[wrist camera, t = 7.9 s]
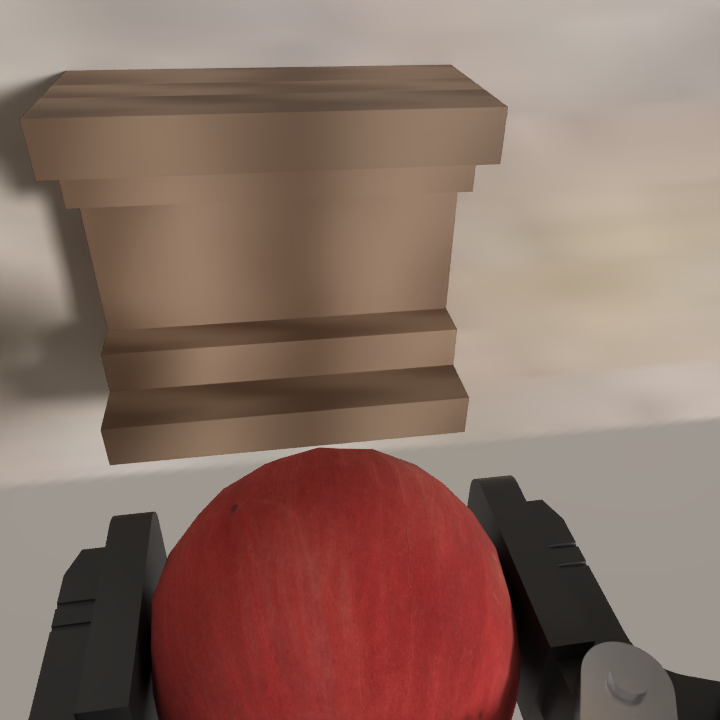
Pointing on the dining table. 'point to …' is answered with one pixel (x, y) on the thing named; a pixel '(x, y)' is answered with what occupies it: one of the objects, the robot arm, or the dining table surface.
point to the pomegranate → (334, 600)
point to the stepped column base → (269, 247)
